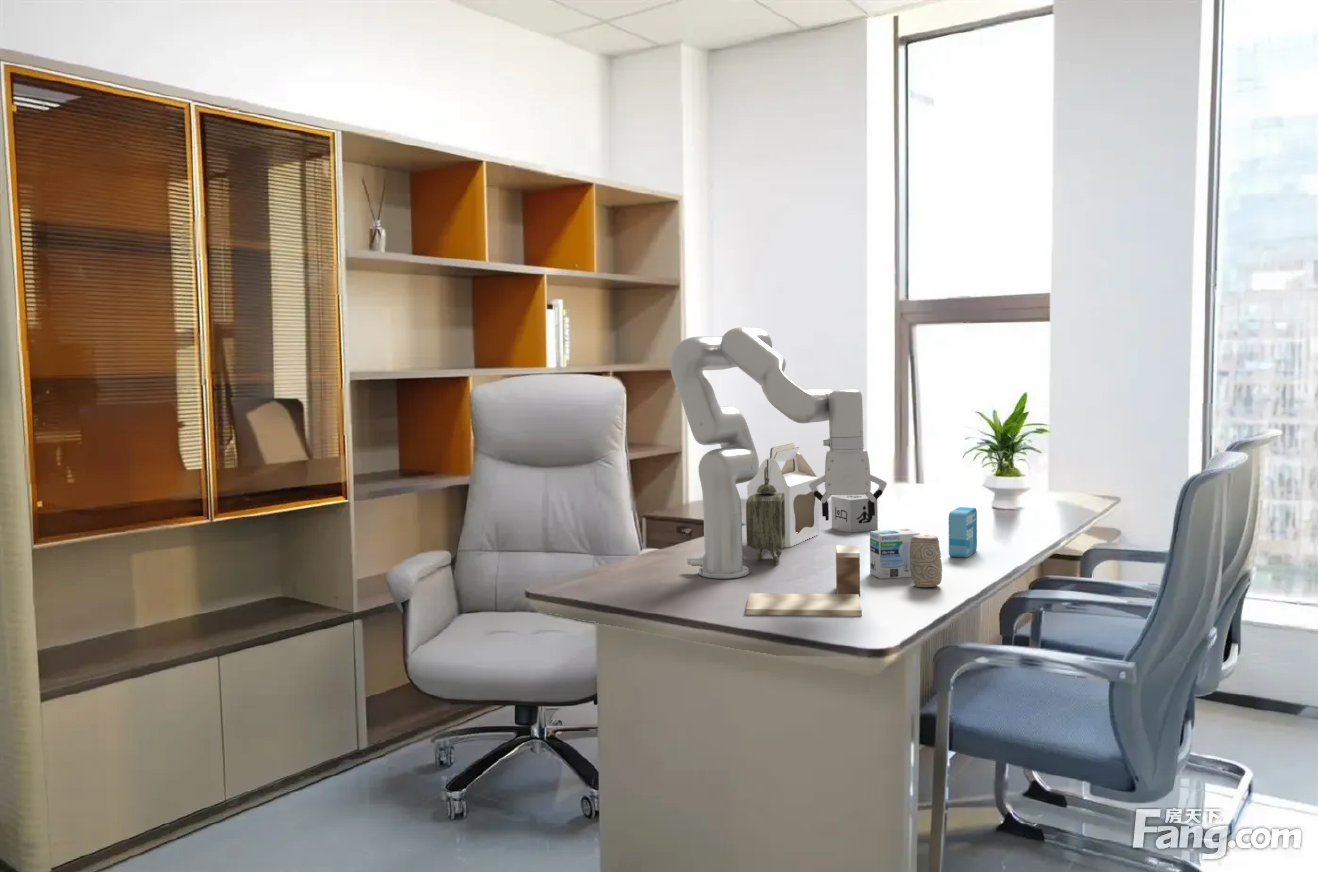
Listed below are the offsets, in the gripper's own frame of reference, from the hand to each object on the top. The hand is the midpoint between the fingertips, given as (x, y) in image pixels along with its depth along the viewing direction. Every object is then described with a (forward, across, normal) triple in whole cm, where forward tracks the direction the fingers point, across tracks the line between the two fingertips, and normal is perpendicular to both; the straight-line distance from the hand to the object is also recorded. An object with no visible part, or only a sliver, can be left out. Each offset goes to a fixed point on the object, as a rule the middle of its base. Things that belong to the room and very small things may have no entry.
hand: (848, 519), depth 225 cm
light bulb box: (+17, +12, +18) cm, 28 cm away
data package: (+17, +32, +44) cm, 57 cm away
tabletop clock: (+16, -20, +35) cm, 44 cm away
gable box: (+16, -16, +65) cm, 69 cm away
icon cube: (+16, +5, +83) cm, 85 cm away
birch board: (+17, -10, -14) cm, 24 cm away
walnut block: (+17, 0, 0) cm, 17 cm away
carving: (+17, +18, +6) cm, 25 cm away
